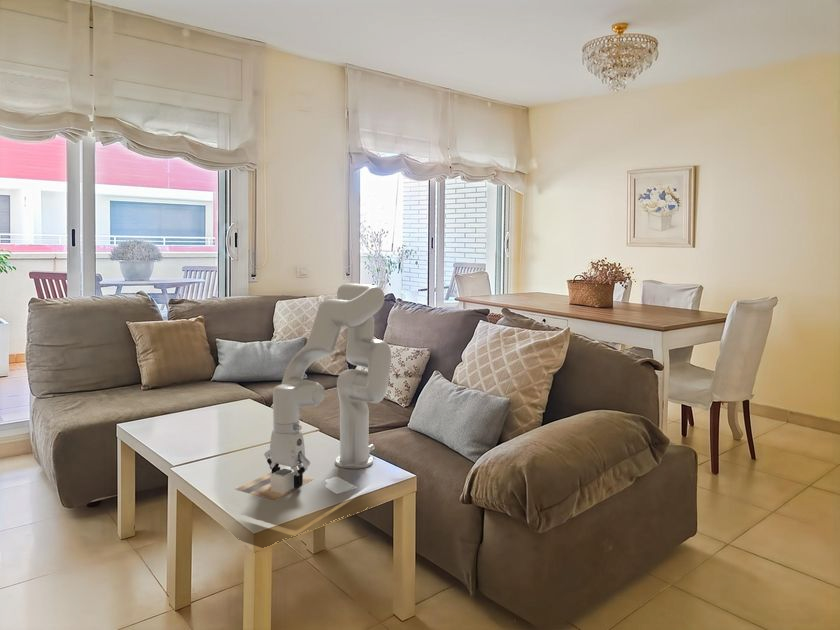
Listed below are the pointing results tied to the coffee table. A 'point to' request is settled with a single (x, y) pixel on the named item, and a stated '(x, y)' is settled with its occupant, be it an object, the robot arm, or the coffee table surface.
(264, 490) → the subfloor board
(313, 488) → the coffee table surface
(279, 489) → the stud finder
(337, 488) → the hard drive
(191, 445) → the coffee table surface
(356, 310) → the robot arm
